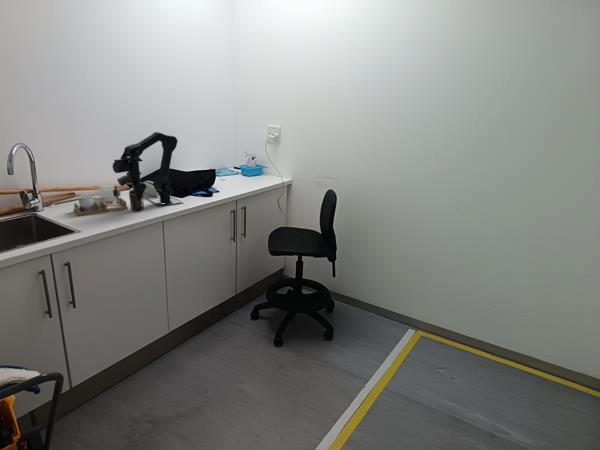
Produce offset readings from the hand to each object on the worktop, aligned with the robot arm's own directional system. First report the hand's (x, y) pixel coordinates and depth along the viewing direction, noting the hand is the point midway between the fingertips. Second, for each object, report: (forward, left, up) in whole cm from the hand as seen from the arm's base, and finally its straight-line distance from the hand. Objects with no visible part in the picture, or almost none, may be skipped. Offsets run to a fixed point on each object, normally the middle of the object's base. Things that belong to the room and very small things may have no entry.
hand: (136, 198), depth 220 cm
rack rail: (+9, +16, -6) cm, 19 cm away
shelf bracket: (+25, +8, -7) cm, 27 cm away
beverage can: (0, 0, -7) cm, 7 cm away
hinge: (+28, -18, -7) cm, 34 cm away
